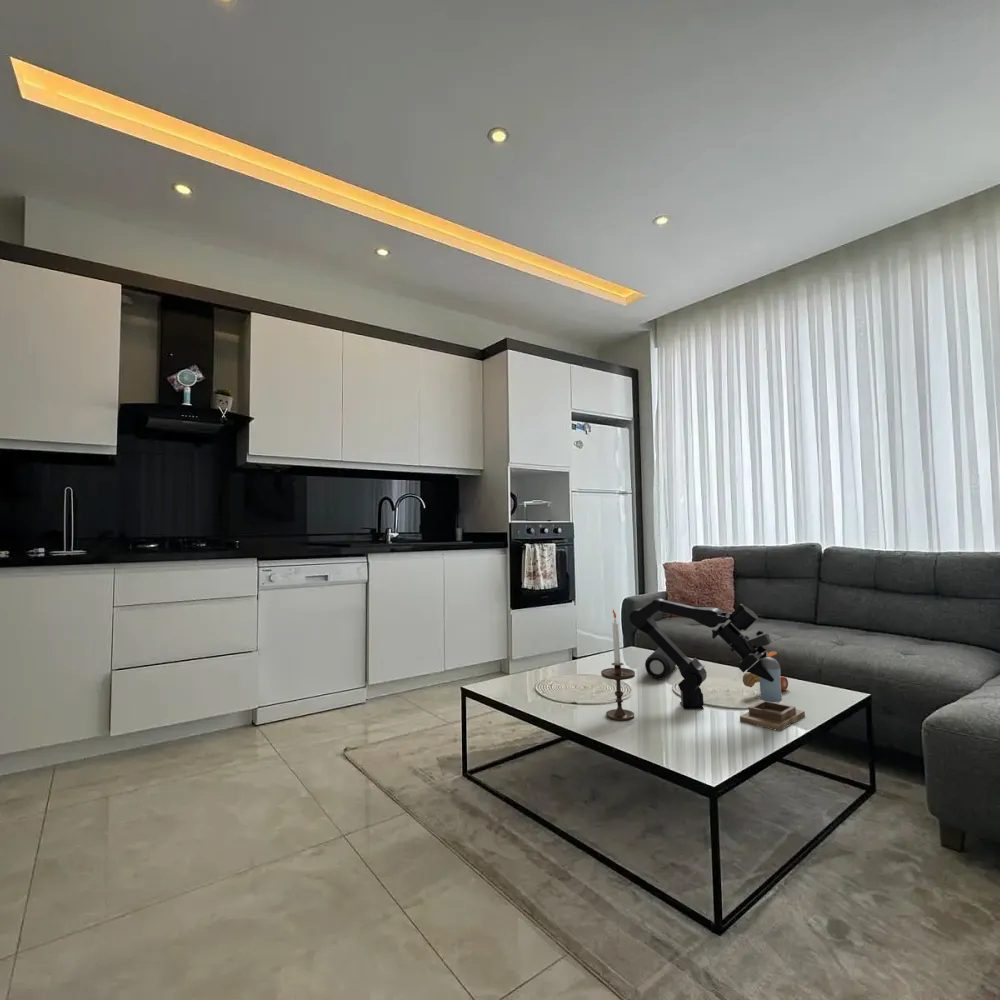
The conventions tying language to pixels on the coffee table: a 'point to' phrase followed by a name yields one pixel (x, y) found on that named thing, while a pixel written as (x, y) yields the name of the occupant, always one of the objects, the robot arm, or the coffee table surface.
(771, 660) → the blue grey domed cylinder
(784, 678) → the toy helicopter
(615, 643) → the candlestick
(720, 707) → the coffee table surface
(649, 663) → the portable speaker
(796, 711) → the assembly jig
